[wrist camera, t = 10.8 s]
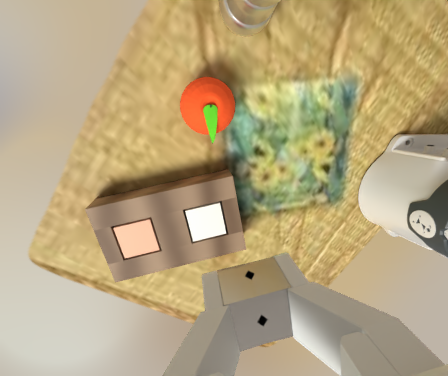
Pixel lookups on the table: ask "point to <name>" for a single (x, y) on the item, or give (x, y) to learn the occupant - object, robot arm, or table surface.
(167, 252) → the key console
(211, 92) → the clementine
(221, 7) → the plastic bottle
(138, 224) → the key terracotta
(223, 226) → the key ivory
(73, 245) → the table surface
